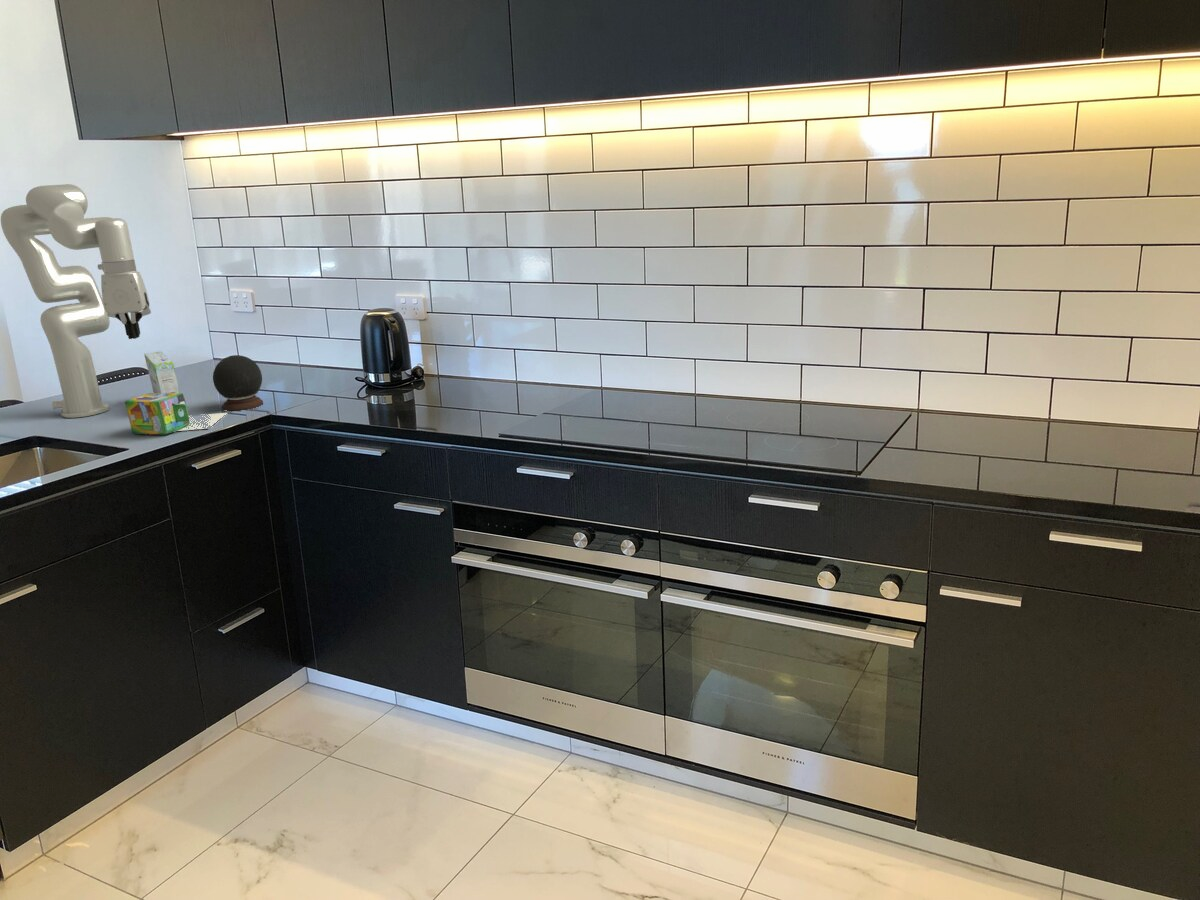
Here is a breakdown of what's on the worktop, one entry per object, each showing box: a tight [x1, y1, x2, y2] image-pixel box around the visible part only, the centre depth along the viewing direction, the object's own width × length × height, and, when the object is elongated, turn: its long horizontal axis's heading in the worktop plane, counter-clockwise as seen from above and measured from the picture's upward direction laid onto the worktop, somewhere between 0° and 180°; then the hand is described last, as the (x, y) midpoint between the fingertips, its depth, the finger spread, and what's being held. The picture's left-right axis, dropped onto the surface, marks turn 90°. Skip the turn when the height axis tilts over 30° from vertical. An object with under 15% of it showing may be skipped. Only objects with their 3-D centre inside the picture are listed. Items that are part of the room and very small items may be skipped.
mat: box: [176, 412, 228, 431], centre depth 251 cm, size 16×16×1 cm
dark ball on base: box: [212, 354, 264, 412], centre depth 264 cm, size 13×13×15 cm
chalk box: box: [124, 392, 190, 435], centre depth 243 cm, size 9×9×15 cm
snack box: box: [144, 350, 181, 393], centre depth 271 cm, size 21×6×15 cm, turn 33°
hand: (134, 337), depth 243 cm, fingers closed
